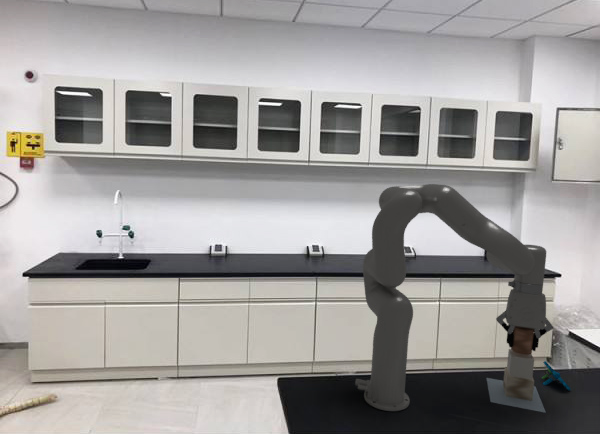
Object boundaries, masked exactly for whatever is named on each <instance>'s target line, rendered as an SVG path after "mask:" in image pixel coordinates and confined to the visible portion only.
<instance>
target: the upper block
mask: <svg viewBox="0 0 600 434" xmlns="http://www.w3.org/2000/svg"><path fill="white" fill-rule="evenodd" d="M506 363H507V364H506V367H507V370H508V373H509V376H511V377H517V378H523V379H529V380H532V377H533V375H534V367H535V366H534V365H535V359H534V357H533V354H529V355H525V354H519V353H516V352H514V351H512V350H511V348H509V349H508V355H507V361H506ZM533 378H534V377H533Z"/></svg>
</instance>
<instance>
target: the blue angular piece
mask: <svg viewBox="0 0 600 434" xmlns="http://www.w3.org/2000/svg"><path fill="white" fill-rule="evenodd" d="M543 364H544V366H545V367H546V368H547V371H546V374H545V375H543V376H542V377H541V379H543V380H544V379H547V378H548V377H549V378H548V379H547V380H545V381H543V382H542V385H544V386H547V385H549V384H550V383H552V382H556V381H557V380H558V381H559V382H560V383H561V384H562V385H563V386H564V388H565V389H567V390H568V391H571V390H572V388H571V387H570V386H569V385H568V384H567V383H566V382H565V380H564V379H563V378H562V377H561V373H560V372H559V371H558V372H557V371H555V369H553V367H552V366H551V365H550V364H549V363H548V362H547V361H546V360H545V361H543Z"/></svg>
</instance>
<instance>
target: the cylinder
mask: <svg viewBox="0 0 600 434" xmlns="http://www.w3.org/2000/svg"><path fill="white" fill-rule="evenodd" d="M513 335H514V337H513V346H512V348H511V347H510V349H511V350H512V351H514V352H516V353H519V354H525V355H529V354H532V353H533V350H532V346H533V337H534V329H531V328H524V327H517V326H515V328H514V330H513ZM532 355H533V354H532Z"/></svg>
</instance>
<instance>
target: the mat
mask: <svg viewBox="0 0 600 434" xmlns="http://www.w3.org/2000/svg"><path fill="white" fill-rule="evenodd" d="M503 381H504V380H502V379H495V378H490V377H486V382H487V389H488V395H489V400H490V403H495V404H499V405H504V406H510V407H514V408H520V409H525V410H529V411H535V412H539V413H540V412H541V413H547V412H546V410H545V408H544V404H543V402H542V400H541V398H540V397H541V396H540V395H539V392H538V389H537V387H536V386H535V385H534V389H533V399H532V401H529V400H524V399H519V398H513V397H508V396H506V395H505V391H504V387H503Z"/></svg>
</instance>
